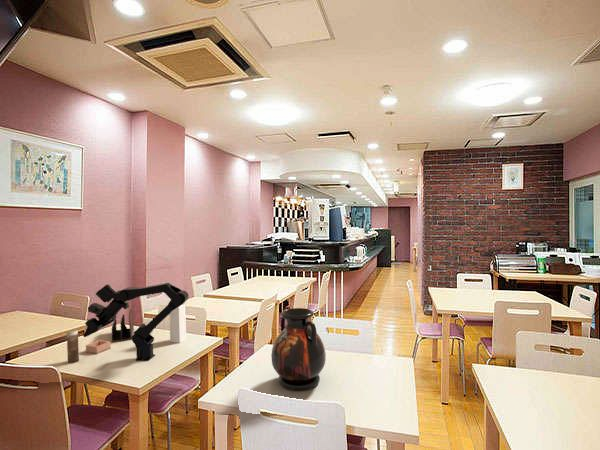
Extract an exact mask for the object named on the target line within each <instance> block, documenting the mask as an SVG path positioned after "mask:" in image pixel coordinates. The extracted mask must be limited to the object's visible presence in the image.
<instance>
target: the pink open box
mask: <svg viewBox="0 0 600 450" xmlns="http://www.w3.org/2000/svg"><path fill="white" fill-rule="evenodd" d="M110 349H111V341H107V340H102V339H98V340H96V341H94V342H93V341H92V342H91V343H89V344H86V345H85V352H86V353H90V354H95V355H97V354H99V353H103V352H104V351H108V350H110Z"/></svg>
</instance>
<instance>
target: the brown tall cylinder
mask: <svg viewBox="0 0 600 450" xmlns="http://www.w3.org/2000/svg"><path fill="white" fill-rule="evenodd" d="M66 348H67V363H68V364H75V363H77V362H79V361H80V358H79V357H80V354H79V353H80V352H79V348H80V347H79V330H76V329H75V330H69V331H66Z"/></svg>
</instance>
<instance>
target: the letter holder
mask: <svg viewBox="0 0 600 450" xmlns="http://www.w3.org/2000/svg"><path fill="white" fill-rule="evenodd" d="M133 315H134V314H133V308H130V310H129V316H128V324H129V328H127V326H126V323H125V316H126V315H125V314H122V316H121V318H120V329H117V318H116V319H115V320H114V321H113V322H112V326H111V343H119V342H126V341H132V335H133V334H134V333H133V332H134V330H135V327H134V316H133Z"/></svg>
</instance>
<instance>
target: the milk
mask: <svg viewBox="0 0 600 450" xmlns="http://www.w3.org/2000/svg"><path fill="white" fill-rule="evenodd" d="M186 316H187V315H186V304H185V303H183V304H182V305H181V306H179V307H178V308H176V309H174V310H173V311H172V312H171V313H170V314H169V337H170V339H169V340H170V343H177V344H181V343H182V342H184V341H186V340H187V319H186V318H187V317H186Z"/></svg>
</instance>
